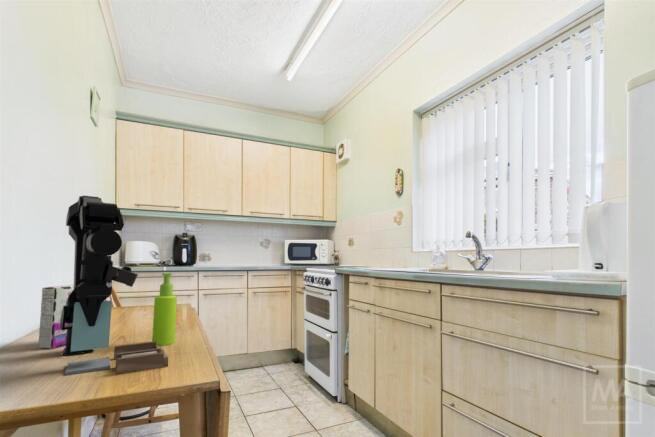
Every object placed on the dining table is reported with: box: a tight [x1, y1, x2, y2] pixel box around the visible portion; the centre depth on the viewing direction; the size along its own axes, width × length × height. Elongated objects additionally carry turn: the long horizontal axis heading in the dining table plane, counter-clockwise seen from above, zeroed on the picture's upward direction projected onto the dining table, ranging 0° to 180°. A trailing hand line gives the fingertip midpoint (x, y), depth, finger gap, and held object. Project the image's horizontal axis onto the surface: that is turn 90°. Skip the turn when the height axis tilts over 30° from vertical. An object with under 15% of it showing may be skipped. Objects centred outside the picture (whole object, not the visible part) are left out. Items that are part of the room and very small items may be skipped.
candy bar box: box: [38, 284, 74, 350], centre depth 100 cm, size 11×5×16 cm, turn 168°
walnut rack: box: [113, 341, 169, 375], centre depth 82 cm, size 14×10×3 cm
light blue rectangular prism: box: [71, 300, 113, 352], centre depth 79 cm, size 4×7×10 cm, turn 123°
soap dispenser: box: [151, 272, 178, 347], centre depth 101 cm, size 6×7×20 cm
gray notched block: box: [121, 351, 157, 358], centre depth 78 cm, size 2×8×3 cm, turn 123°
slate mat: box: [64, 356, 111, 376], centre depth 78 cm, size 8×8×1 cm
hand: (91, 324), depth 79 cm, fingers closed on light blue rectangular prism, 4 cm apart
